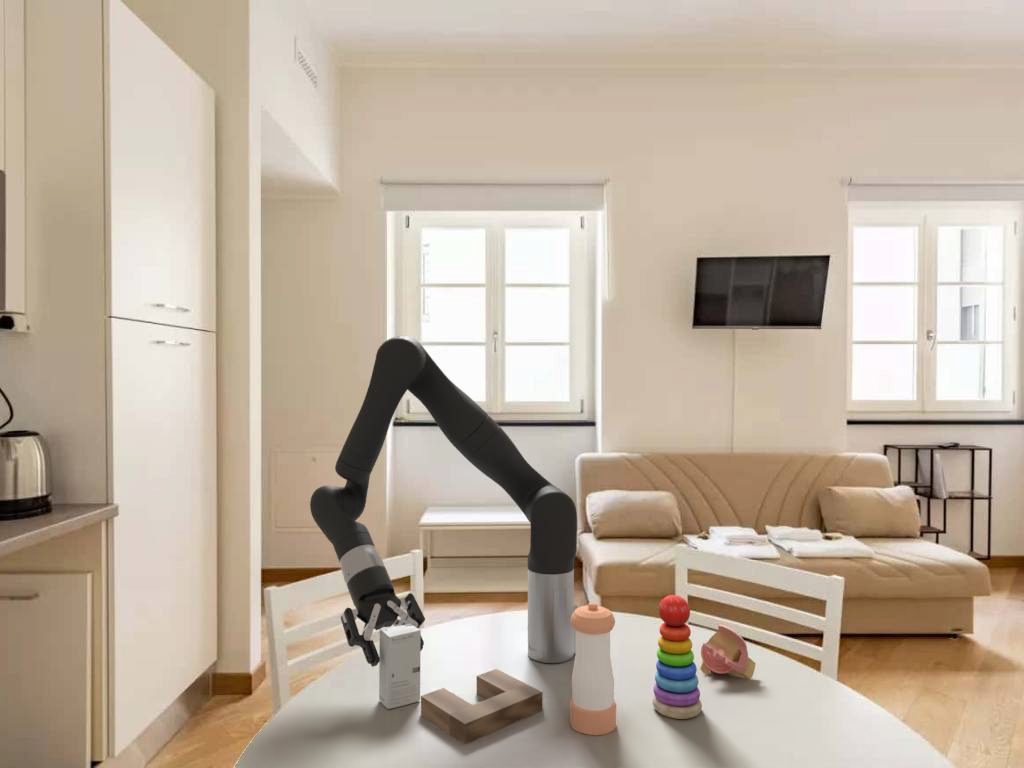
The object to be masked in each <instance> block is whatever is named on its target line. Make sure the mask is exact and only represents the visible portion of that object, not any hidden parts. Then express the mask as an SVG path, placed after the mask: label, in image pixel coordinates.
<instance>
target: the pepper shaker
mask: <svg viewBox="0 0 1024 768" xmlns="http://www.w3.org/2000/svg"><path fill="white" fill-rule="evenodd" d="M570 620H571V623H572V626H573V628H574V629H575V630H576V653H575V654H574V656H575V657H574V662H573V668H572V676H571V687H572V688H571V690H572V693H571V695H572V696H571V698H570V701H569V723H570V726H571V728H573V730H575V731H576V732H578V733H581V734H585V735H589V736H602V735H607V734H609V733H612V732H613V731H614V730H615V729H616V727H617V703H616V700H615V698H614V694H615V692H614V691H615V678H614V672H613V666H612V659H611V631H612V630H613V628H614V627H615V625H616V620H615V617H614V615H613V613H612V611H611V610H610V609H609V608H606V607H604V606H601V605H598V604H597V602H589V603H588V604H586V605H582V606H579V607H577V609H575V611H574V612H573V614H572V616H571V619H570Z"/></svg>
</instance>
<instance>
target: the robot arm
mask: <svg viewBox="0 0 1024 768" xmlns="http://www.w3.org/2000/svg"><path fill="white" fill-rule="evenodd" d="M370 377H371V378H370V381H369V385H368V387H367V391H366V394H365V397H364V400H363V403H362V405H361V408H360V409H359V412H358V413H357V416H356V418H355V420H354V423H353V424H352V427H351V429H350V431H349V433H348V435H347V438H346V440H345V442H344V443H343V446H342V449H341V451H340V453H339V456H338V458H337V460H336V463H335V468H334V469H335V473H336V474H337V475H338V476H339V477H340V478H342V479H344V480H346V483H345V485H344V486H335V485H322V486H319V487H318V488H316V489H315V490H314V491H313V493H312V495H311V497H310V501H309V507H310V513H311V516H312V518H313V521H314V523H315V524H316V525H317V527H318V528H319V529H320V531H321V532H322V533H323V534H324V537H326V538H327V540H328V541H329V542H330V543H331V545H332V546H333V549H334V552H335V554H336V557H337V560H338V563H339V565H340V569H341V573H342V574H341V575H342V576H343V577H342V578H343V580H344V583H345V585H346V588H347V590H348V593H349V595H350V598H351V600H352V603H353V606H354V607H355V608H353V609H352V608H351V607H346V608H345V609H344V611H343V613H342V614H341V616H340V621H341V623H342V627H343V631H344V634H345V637H346V641H347V644H348V646H349V647H355V646H357V647H360V648H361V649H362V653H363V655H364V657H365V660H366V663H368V664H369V665H370V666H371V667H372V668H373V667H376V666H378V665H379V661H380V658H379V653H378V650H377V647H376V646H375V643H374V640H373V639H372V640H371V638H372V636H373V633H374V632H373V631H374V630H375V631H380V630H381V629H384V628H391V627H394V626H402V625H407V624H412V625H413V626H415V627H416V628H418V629H420V628H421V626H423V624H424V623H425V621H426V618H425V616H424V614H423V612H422V609H421V608H420V606H419V603H418V601H417V600H416V598H415V595H414V594H412V593H411V592H409V593H408V594H407V595H406V596H404V597H401V598H399V597H398V596H397V595H396V593H395V588H394V585H393V582H392V580H391V577H390V574H389V573H388V570H387V568H386V565H385V563H384V560H383V559H382V557H381V554H380V553H379V551H378V550H377V548H376V546H375V544H374V541H373V538H372V536H371V534H370V532H369V530H368V528H367V526H366V525H365V524H363V523H361V522H358V521H357V520H358V519H359V518H360V517H361V516H362V514H363V513H364V512H365V508H366V503H367V498H368V491H369V484H370V478H371V477H370V476H371V474H372V472H373V470H374V467H375V465H376V462H377V460H378V458H379V456H380V453H381V451H382V449H383V446H384V445H385V440H386V437H387V434H388V431H389V428H390V425H391V423H392V419H393V417H394V414H395V412H396V410H397V409H398V406H399V403H400V402H401V400H402V399H403V397H404V395H405V394H406V392H407V391H408V392H410V393H411V394H412V396H414V397H415V398H416V399H418V401H419V402H420V403H421V404H422V405H423V407H425V408H426V410H427V411H428V412H429V414H430V415H431V417H432V418H433V420H434V421H435V423H436V425H437V426H438V428H439V429H440V431H441V432H442V433H443V435H444V437H445V438H446V439H447V440H448V441H449V442H450V443H451V444H452V446H453V447H454V448H455V449H456V450H457V451H458V452H459V453H460V454H461V455H462V456H463V457H464V458H465V459H466V460H467V461H468V462H469V463H470V464H471V465H473V466H474V467H475V468H476V469H477V470H478V471H480V472H481V473H482V474H484V475H485V476H486V477H488V478H489V479H491V481H493V482H494V483H495V484H497V485H498V486H499V487H501V488H502V490H504V491H505V493H506V494H507V495H508V496H509V497H510V499H512V501H513V502H514V503H515V504H516V505H517V506H518V508H519V509H520V511H521V512H522V513H523V514H524V516H525V518H526V519H527V521H528V522H529V523H530V539H529V540H530V541H529V542H530V543H529V544H530V546H529V547H530V548H529V553H528V555H527V655H528V657H529V658H530V659H532V660H534V661H536V662H539V663H544V664H545V663H546V664H559V663H560V664H561V663H564V662H568V661H570V660H572V659H573V658H574V656H575V655H576V630H575V629H574V628H573V626H572V623H571V620H570V619H571V616H572V614H573V612H574V611H575V609H577V608H578V605H577V604H575V594H574V592H575V585H574V584H575V583H574V581H575V577H574V576H575V574H574V573H575V571H574V568H575V558H576V555H577V539H578V515H577V508H576V507H577V506H576V504H575V502H574V501H573V499H572V497H571V496H570V495H569V494H567V493H566V492H564V491H563V490H562V489H560V488H558V487H557V486H555V485H553V483H551V482H550V481H548V480H547V479H546V478H545V477H544V476H543V475H541V474H540V472H538V471H537V470H536V469H535V468H534V467H533V466H531V464H530V463H528V461H527V460H526V459H525V458H524V456H523V455H522V453H521V452H520V451H519V449H518V447H517V446H516V445H515V443H514V442H513V441H512V439H511V437H509V435H508V434H507V433H506V432H505V431H504V429H502V427H501V426H500V425H499V423H497V422H496V421H495V420H494V419H493V418H492V417H491V416H490V415H489V414H488V413H487V411H485V410H484V409H483V408H482V407H481V405H479V403H478V404H477V402H476V401H475V400H473V399H472V398H471V397H470V396H469V395H468V394H466V392H464V391H463V390H462V389H461V388H459V386H457V385H456V384H455V383H453V381H452V380H451V379H450V378H449V377H448V376H447V375H446V374H445V373H444V372H443V370H442V369H441V368H440V366H438V364H437V363H436V362H435V360H433V358H432V357H431V355H430V354H429V353H428V351H427V350H426V349H425V347H424V346H423V345H422V344H421V343H420V342H419V341H418V340H417V339H416V338H413V337H411V336H408V335H398V336H397V335H396V336H393V337H391V338H389V339H387V340H385V341H384V342H382V343H381V344H380V346H379V347H378V349H377V352H376V353H375V360H374V364H373V369H372V373H371V376H370ZM401 607H402V608H403V609H402V608H401ZM398 617H399V618H400V619H398ZM357 619H359V620H360V621H362V622H363V623H364V625H363V628H362V632H361V634H360V633H359V629H358V626H357V622H356V620H357ZM424 645H425V643H424V640H423V637H422V636H421V642H420V652H421V651H422V650H423V649H424Z"/></svg>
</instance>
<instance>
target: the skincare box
mask: <svg viewBox="0 0 1024 768" xmlns="http://www.w3.org/2000/svg"><path fill="white" fill-rule="evenodd" d="M421 637H422V635H421V629H420V628H416V627H415V626H413V625H412V624H407V625H402V626H394V625H393V626H390V627H385V628H381V629H379V653H378V655H379V658H380V661H379V663H378V665H379V668H378V670H379V671H378V675H379V676H378V677H379V680H378V682H379V683H378V685H379V686H378V687H379V688H378V695H379V696H378V700H379V701H380V702H381V704H382V705H383V706H384V707H385V708H386V709H387V710H391V709H394V708H399V707H403V706H407V705H410V704H414V703H417V702H419V701H421V651H420V642H421Z"/></svg>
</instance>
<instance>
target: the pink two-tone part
mask: <svg viewBox="0 0 1024 768" xmlns="http://www.w3.org/2000/svg"><path fill="white" fill-rule="evenodd" d="M717 626H718V629H717V631H716V632H715V633H714V634H713V635H712V636H711V637H710V638H709V639H708V641H706V642H704V643H703V644H702V646H701V647H700V648H701V649H700V657H701V665H700V668H699V670H700V671H701V672H702V673H703V674H704V675H705V676H708V675H709V673H710V671H712V672H713V673H716V674H720V675H721V674H727V673H728V674H730V675H732V676H737V677H740V678H743V679H747V680H752V678H753V676H754V673H755V669H756V662H755V661H754V660H753V659H751V658H750V657H749V652H748V651H749V650H748V646H747V643H746V641H745V640H744V638H743V637H742V636H741V634H739V633H738V632H737V631H736V630H735V629H733V628H732V627H730V626H728V625H724V624H718V625H717Z"/></svg>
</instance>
